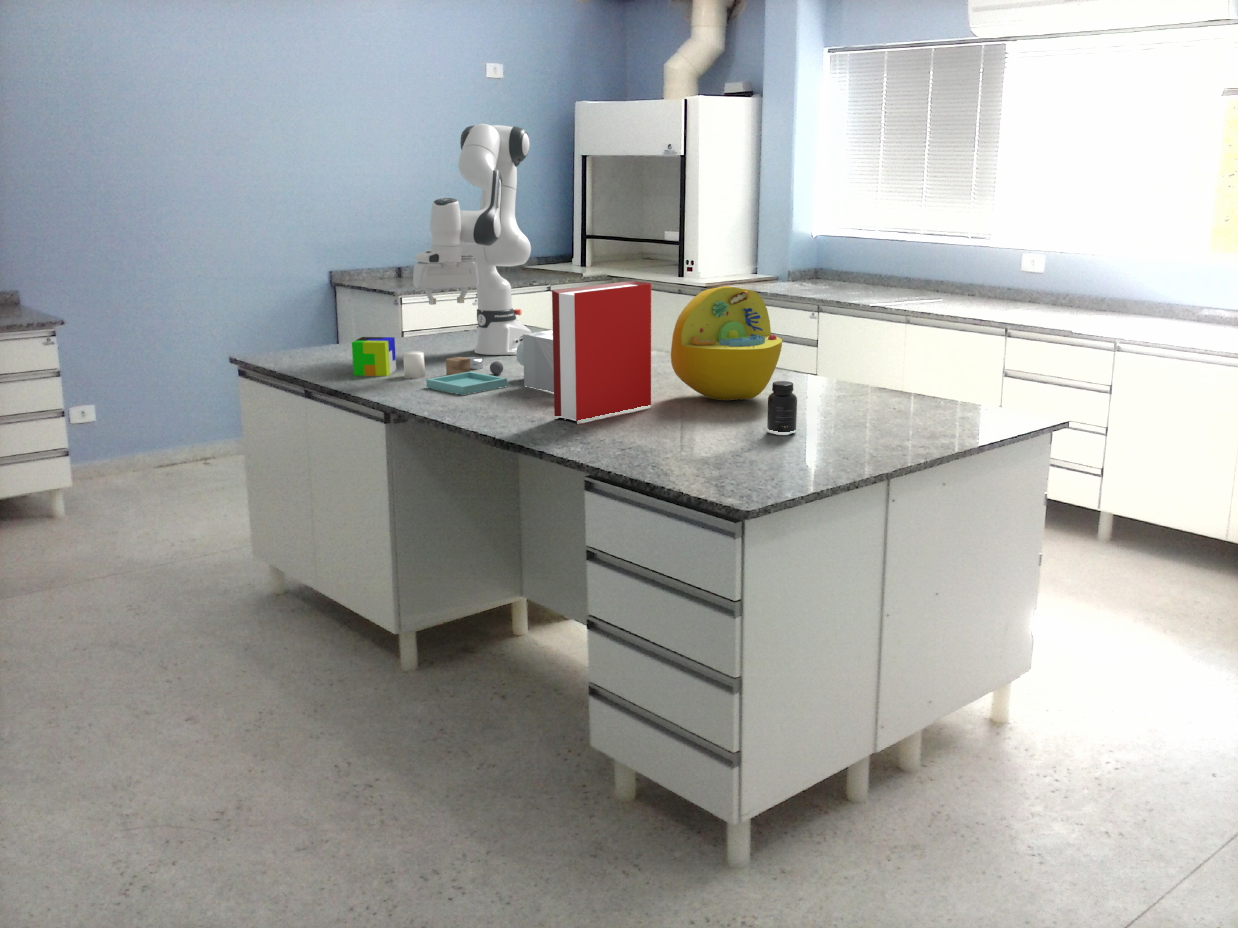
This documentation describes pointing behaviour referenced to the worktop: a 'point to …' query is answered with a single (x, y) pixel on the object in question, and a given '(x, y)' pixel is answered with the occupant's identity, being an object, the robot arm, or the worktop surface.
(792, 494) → the worktop surface
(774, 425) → the supplement bottle
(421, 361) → the ceramic jar
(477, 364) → the grey metal dome
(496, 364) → the rubber ball
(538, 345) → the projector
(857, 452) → the worktop surface
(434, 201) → the robot arm
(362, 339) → the puzzle toy
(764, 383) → the educational model
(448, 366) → the walnut block
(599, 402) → the book
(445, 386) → the tray
